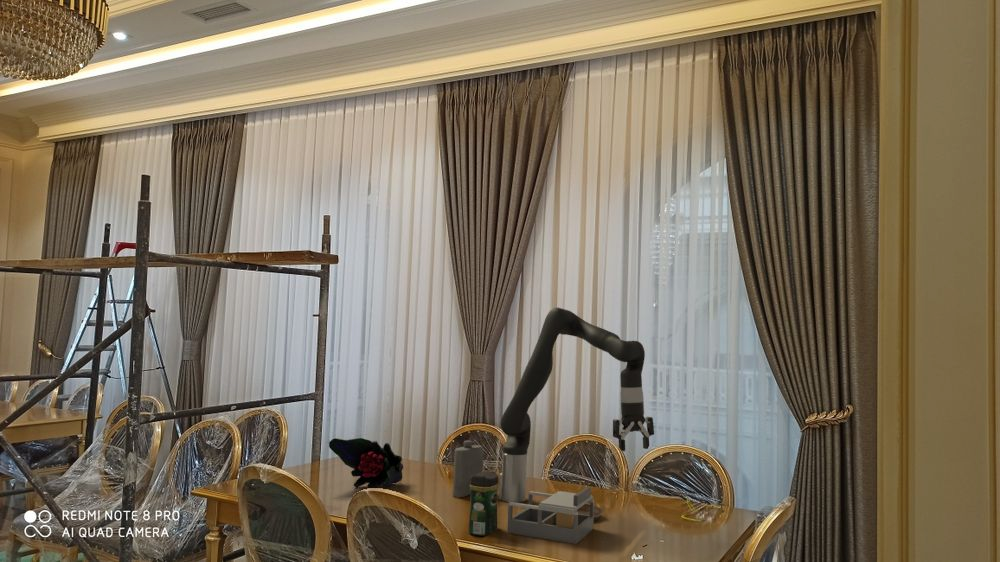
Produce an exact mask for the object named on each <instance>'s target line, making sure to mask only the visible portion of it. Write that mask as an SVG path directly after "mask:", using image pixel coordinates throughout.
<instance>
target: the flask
mask: <svg viewBox="0 0 1000 562" xmlns="http://www.w3.org/2000/svg"><path fill="white" fill-rule="evenodd" d="M473 442H474V441H472V440H464V441H463V446H460V447H456V448H455V449H454V461H453V489H452V497H454V496H455V497H454V498H456V497H464V498H466V497H468V496H467V495H469V496H471V495H470V494H471V491H470V477H471V476H473V475H475V474H478V473H481V472H483V470H484V469H483V464H484V446H482V445H477V444H475V445H474V444H473ZM465 496H466V497H465Z"/></svg>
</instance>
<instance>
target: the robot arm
mask: <svg viewBox="0 0 1000 562" xmlns="http://www.w3.org/2000/svg"><path fill="white" fill-rule="evenodd" d="M559 335H564V336H565V335H566V336H571V337H576V338H579V339H581V340H584V341H585V342H587V343H588V344H589V345H591V346H592V347H595V348H597V349H599V350H601V351H603V352H606V353H608V354H609V355H610V356H611V357H613V358H614V360H615V359H616V360H617V361H619V362H622V363H626V366H625V368H624V369H622V370H621V372H620V412H621V419H617V418H614V419H613V420H612V437H613V438H615V439H617V440H618V448H619V450H620V451H621V452H625V451H626V440H625V439H626V437H627V435H628V434H629V433H631V432H632V433H633V432H639V433H640V434H641V435H642V436H643V437H642V448H643V449H646V450H647V449H649V448H650V437H652V436H654V435H655V427H654V419H653V416H646V417H645V406H644V392H643V379H642V374H643V368H644V363H645V358H646V357H645V356H646V354H645V353H646V352H645V351H646V350H645V348H644V346H643V343H641V342H640V341H638V340H623V339H621V338H620V337H619V335H618V334H616V333H614V332H611V331H609V330H607V329H605V328H602V327H600V326H596V325H593V324H591V323H590V322H587V321H586V320H584V319H582V317H580V316H578V315H577V314H575V313H574V312H573V311H571V310H568V309H565V308H561V307H553V308H552V309H550V310H549V311H548V313H547V315H546V317H545V319H544V321H543V325H542V327H541V331H540V333H539V336H538V339H537V342H536V344H535V347H534V349H533V351H532V354H531V356H530V358H529V360H528V362H527V364H526V367H525V369H524V370H523V373H522V376H521V379H520V381H519V382H518V385H517V388H516V389H515V393H514V395H513V397H512V399H511V400H510V402H509V404H508V406H507V407H506V409H505V410H504V412H503V414H502V417H500V418H501V420H500V428H501V430H502V432H503V433H504V435H506V436H507V437H506V441H505V443H504V444H503V446H502V467H501V470H502V471H501V473H499V486H498V490H499V491H498V500H500V501H503V502H506V503H509V502H514V503H524V502H526V498H527V470H528V468H527V467H528V449H529V446H530V442H531V441H530V440H531V431H532V430H531V429H532V428H531V427H532V424H531V423H532V422H531V418H530V415H529V414H528V410H529V409H530V406H531V405H532V403H533V402H534V401H535V399H536V398H537V397H538V395H540V393H541V392H542V390H543V389H544V388H545V385H546V384H547V382H548V380H549V378H550V375H552V371H553V365H554V359H553V358H554V356H553V352H554V350H553V349H554V346H555V343H556V341H557V339H558V337H559ZM644 424H646V427H645V426H644ZM621 425H622V427H621ZM620 428H621V429H620Z"/></svg>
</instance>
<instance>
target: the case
mask: <svg viewBox="0 0 1000 562" xmlns="http://www.w3.org/2000/svg"><path fill="white" fill-rule="evenodd" d="M553 494H554V493H553ZM553 494H552V493H545V492H540V491H539V492H538V491H532V490H530V491H528V499H527V500H528V502H527V504H526V503H522V502H516V503H514V502H508V510H507V512H508V514H507V533H509V534H515V535H520V536H527V537H533V538H539V539H545V540H552V541H555V542H556V541H558V542H563V543H568V544H574V545H575V544H576V545H577V544H578V543H579V542H580V541H581V540H583V539H584V538H585V537H586V536H587V535H588V534H589V533H591V531H592V530H594V506H595V500H594V499H593V500H590V501H588V502H587V504H588V503H589V505H590V515H584V514H578V512H576V511H575V514H572V515H574V521H573V528H568V527H562V526H556V512H558V511H551V510H544V509H538V508H539V505H536V504H535V505H534V504H533V496H540V497H545V498H546V497H547V498H548V497H550V496H552V495H553ZM514 507H517V508H518V507H519V508H525V509H523V510H521V511H520V512H518V513H516V514H514V515H513V510H514V509H513V508H514ZM558 513H564V512H558ZM565 514H571V513H565Z"/></svg>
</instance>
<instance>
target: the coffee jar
mask: <svg viewBox="0 0 1000 562" xmlns="http://www.w3.org/2000/svg"><path fill="white" fill-rule="evenodd" d="M499 484H500V481H499V475H498V473H496V471H490V470H482V472H481V473H478V474H475V475H473V476H471V477H470V491H471V495H470V499H469V502H470V503H469V515H468V516H469V517H468V527H467V528H468V533H469V534H470V535H472V536H475V535H479V536H478V537H487V536H489V535H491V534H492V533H494V532H496V531H497V530H498V494H499V491H498V490H499Z"/></svg>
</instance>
